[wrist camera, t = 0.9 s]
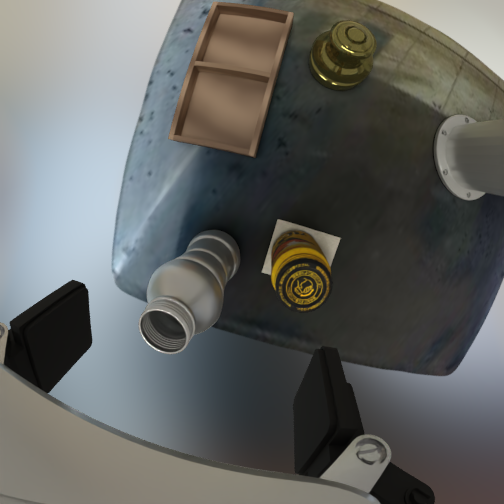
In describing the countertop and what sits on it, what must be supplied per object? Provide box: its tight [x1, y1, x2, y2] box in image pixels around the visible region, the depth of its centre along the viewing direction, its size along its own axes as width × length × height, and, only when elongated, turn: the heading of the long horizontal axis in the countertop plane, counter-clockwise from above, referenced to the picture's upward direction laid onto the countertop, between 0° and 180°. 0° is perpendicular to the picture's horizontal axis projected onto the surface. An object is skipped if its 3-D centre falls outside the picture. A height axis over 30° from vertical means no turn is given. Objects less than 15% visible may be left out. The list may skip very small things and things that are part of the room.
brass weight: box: [309, 20, 376, 91], centre depth 24 cm, size 7×7×10 cm
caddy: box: [168, 2, 294, 158], centre depth 29 cm, size 20×10×4 cm, turn 166°
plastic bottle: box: [139, 230, 241, 354], centre depth 27 cm, size 6×7×20 cm
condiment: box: [262, 219, 340, 313], centre depth 30 cm, size 7×8×12 cm
